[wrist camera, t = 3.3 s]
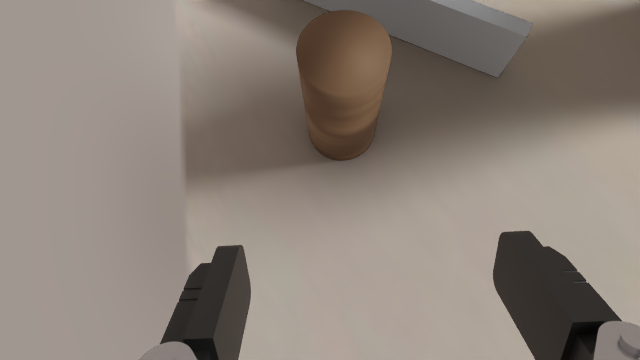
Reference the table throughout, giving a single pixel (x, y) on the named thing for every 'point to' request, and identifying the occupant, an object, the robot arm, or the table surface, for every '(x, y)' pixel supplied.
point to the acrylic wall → (447, 28)
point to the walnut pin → (343, 80)
